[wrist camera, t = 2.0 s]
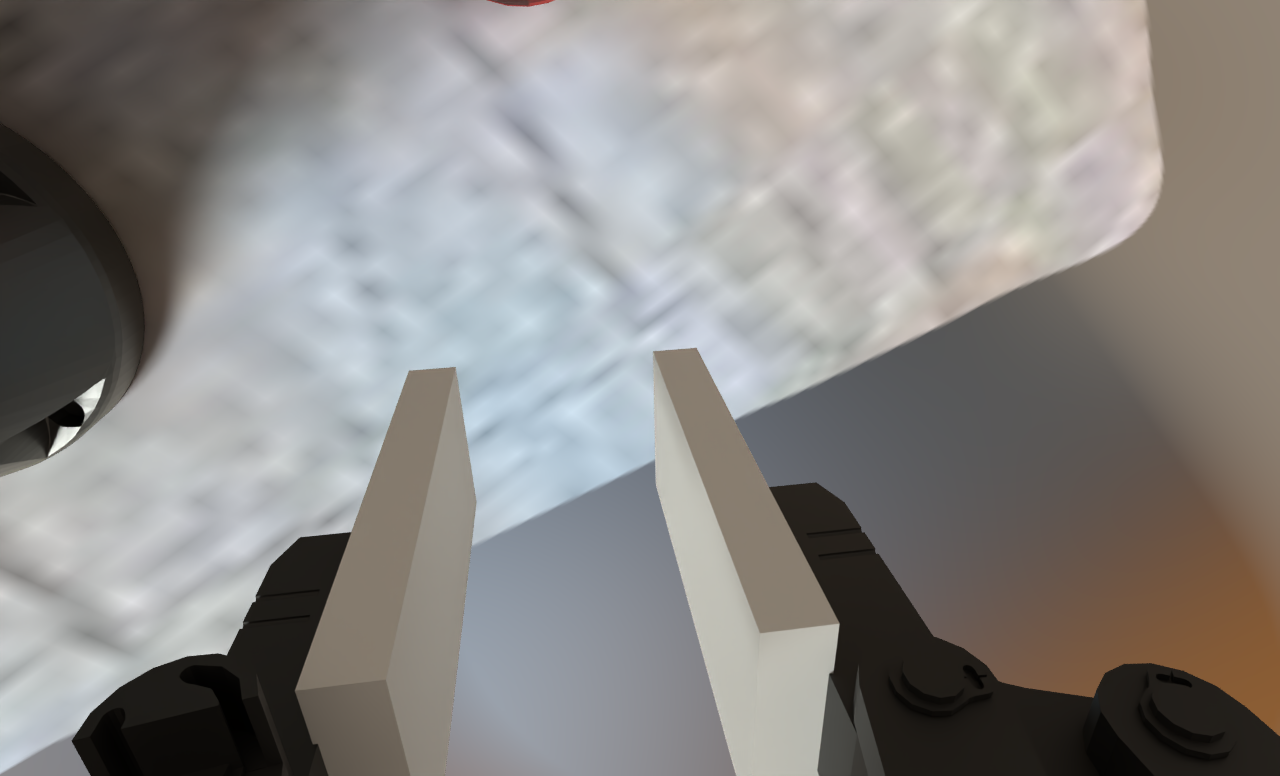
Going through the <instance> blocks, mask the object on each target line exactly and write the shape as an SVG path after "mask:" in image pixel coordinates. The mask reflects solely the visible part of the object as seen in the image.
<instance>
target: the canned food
mask: <svg viewBox="0 0 1280 776" xmlns="http://www.w3.org/2000/svg"><path fill="white" fill-rule="evenodd" d="M488 1H492V2H495V3H499V4H503V5H507V6H527V7H529V6H534V5H539V4H544V3H549V2H552V1H554V0H488Z"/></svg>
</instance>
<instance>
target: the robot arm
mask: <svg viewBox="0 0 1280 776" xmlns="http://www.w3.org/2000/svg"><path fill="white" fill-rule="evenodd" d="M143 340H144V313H143V305H142V299H141V295H140V290H139V286H138V283H137V279H136V276H135V273H134V271H133V268H132V265H131V263H130V260H129V258H128V256H127V254H126V252H125V250H124V248H123V246H122V244H121V242H120V240H119V239H118V237H117V235H116V233H115V232H114V230H113V229H112V227H111V225H110V224H109V222H108V221H107V219H106V218H105V217H104V215H103V214H102V213H101V211H100V210H99V208H98V207H97V206H96V205H95V203H94V202H93V201H92V200H91V199H90V197H89V196H88V195H87V194H86V193H85V191H84V190H83V189H82V188H81V187H80V186H79V185H78V184H77V183H76V182H75V181H74V180H73V179H72V178H71V177H70V176H69V175H68V174H67V173H66V172H65V171H64V170H63V169H62V168H61V167H59V166H58V165H57V164H56V163H55V162H54V161H52V160H51V159H50V158H49V157H48V156H47V155H45V154H44V153H43V152H42V151H40V150H39V149H38V148H36V147H35V146H34V145H32V144H31V143H30V142H28V141H27V140H25V139H24V138H22V137H21V136H19V135H18V134H16V133H15V132H13V131H12V130H10V129H8V128H7V127H5V126H3V125H2V124H0V477H2V476H5V475H8V474H11V473H14V472H17V471H19V470H22V469H25V468H28V467H31V466H33V465H35V464H38V463H40V462H42V461H44V460H46V459H48V458H50V457H52V456H54V455H55V454H57V453H59V452H60V451H62V450H64V449H65V448H67V447H68V446H70V445H71V444H73V443H74V442H75V441H77V440H78V439H79V438H80V437H81V436H83V435H84V434H85V433H86V432H87V431H88V430H89V429H90V428H91V427H93V426H94V425H95V424H96V423H97V422H98V421H99V420H100V419H101V418H103V417H104V416H105V415H106V414H107V413H108V412H109V411H110V410H111V409H112V408H113V407H114V406H115V405H116V404H117V403H118V401H119V400H120V399H121V397H122V396H123V395H124V393H125V392H126V390H127V388H128V387H129V385H130V383H131V381H132V379H133V377H134V375H135V373H136V370H137V367H138V364H139V361H140V357H141V353H142V347H143ZM653 372H654V419H655V465H656V487H657V490H658V494H659V497H660V501H661V505H662V508H663V512H664V516H665V519H666V523H667V526H668V530H669V534H670V537H671V541H672V545H673V548H674V552H675V556H676V559H677V563H678V566H679V570H680V574H681V577H682V581H683V584H684V588H685V592H686V596H687V599H688V603H689V606H690V610H691V614H692V617H693V621H694V625H695V628H696V632H697V636H698V639H699V643H700V647H701V650H702V654H703V657H704V661H705V665H706V668H707V672H708V676H709V679H710V683H711V686H712V690H713V694H714V697H715V701H716V705H717V708H718V712H719V716H720V719H721V723H722V726H723V730H724V734H725V738H726V741H727V745H728V748H729V752H730V756H731V759H732V763H733V767H734V770H735V774H736V776H1280V736H1278V735H1277V734H1276V733H1275V732H1274V731H1273V730H1272V729H1270V728H1269V727H1268V726H1267V725H1266V724H1265V723H1264V722H1263V721H1261V720H1260V719H1259V718H1258V717H1257V716H1256V715H1255V714H1253V713H1252V712H1251V711H1250V710H1248V708H1247V707H1245V706H1244V705H1242V704H1241V703H1240V702H1238V701H1237V700H1235V699H1234V698H1232V697H1231V696H1230V695H1228V694H1227V693H1225V692H1224V691H1223V690H1221V689H1220V688H1218V687H1217V686H1215V685H1213V684H1211V683H1208V682H1206V681H1204V680H1202V679H1200V678H1197V677H1195V676H1193V675H1191V674H1188V673H1187V672H1184V671H1181V670H1177V669H1173V668H1169V667H1164V666H1160V665H1156V664H1152V663H1149V664H1148V663H1147V664H1123V665H1121V666H1119V667H1117V668H1115V669H1113V670H1110V671H1108V672H1107V673H1105V674H1104V676H1103V678H1102V680H1101V682H1100V684H1099V686H1098V688H1097V690H1096V693H1095V696H1094V698H1092V697H1085V696H1078V695H1070V694H1064V693H1057V692H1050V691H1043V690H1036V689H1029V688H1023V687H1019V686H1015V685H1010V684H1006V683H1002V682H999V681H998V680H997V679H996V677H995V676H994V675H993V674H992V672H991V671H990V669H989V668H988V667H987V666H986V665H985V664H984V663H983V662H981V661H980V660H978V659H977V658H976V657H974V656H973V655H972V654H970V653H969V652H968V651H966V650H965V649H964V648H961V647H959V646H956V645H954V644H951V643H949V642H947V641H944V640H942V639H939V638H937V637H934V636H933V635H932V634H931V632H930V631H929V629H928V628H927V626H926V625H925V623H924V622H923V620H922V619H921V617H920V616H919V614H918V613H917V611H916V609H915V608H914V607H913V605H912V603H911V602H910V600H909V599H908V597H907V596H906V594H905V593H904V591H903V590H902V588H901V587H900V585H899V584H898V582H897V581H896V579H895V578H894V576H893V575H892V573H891V572H890V570H889V569H888V567H887V566H886V565H885V563H884V561H883V560H882V558H881V557H880V555H879V554H876V553H875V548H874V546H873V545H872V543H871V542H870V540H869V539H868V537H867V536H866V534H865V533H862V531H861V527H860V525H859V524H858V522H857V521H856V519H855V518H854V516H853V514H852V513H851V511H850V510H849V509H848V507H847V506H846V504H845V502H843V501H842V500H840V499H839V498H838V497H836V496H835V495H833V494H832V493H830V492H829V491H827V490H826V489H825V488H823V487H822V486H820V485H819V484H817V483H806V484H797V485H786V486H777V487H768V485H767V483H766V481H765V479H764V477H763V475H762V473H761V472H760V469H759V468H758V466H757V464H756V462H755V460H754V458H753V456H752V454H751V452H750V450H749V448H748V446H747V445H746V443H745V441H744V439H743V437H742V435H741V433H740V431H739V429H738V427H737V425H736V423H735V421H734V419H733V418H732V416H731V414H730V412H729V410H728V408H727V406H726V404H725V402H724V400H723V398H722V396H721V394H720V392H719V391H718V389H717V387H716V385H715V383H714V381H713V379H712V377H711V375H710V373H709V371H708V369H707V367H706V366H705V364H704V362H703V360H702V358H701V356H700V354H699V352H698V350H697V348H690V349H678V350H665V351H653ZM475 510H476V496H475V490H474V483H473V477H472V470H471V464H470V457H469V451H468V444H467V438H466V432H465V425H464V419H463V412H462V406H461V399H460V393H459V386H458V380H457V373H456V367H451V368H439V369H426V370H413V371H409V372H408V375H407V378H406V381H405V383H404V386H403V389H402V392H401V395H400V398H399V400H398V403H397V406H396V409H395V412H394V414H393V417H392V420H391V423H390V426H389V428H388V431H387V434H386V437H385V440H384V442H383V445H382V448H381V451H380V454H379V456H378V459H377V462H376V465H375V468H374V470H373V473H372V476H371V479H370V482H369V484H368V487H367V490H366V493H365V496H364V498H363V501H362V504H361V507H360V510H359V513H358V515H357V518H356V521H355V524H354V527H353V529H352V532H349V533H339V534H329V535H319V536H309V537H300V538H299V539H298V540H297V541H296V542H295V543H294V544H293V545H291V546H290V547H289V548H288V549H287V550H286V551H285V552H284V553H283V554H282V555H281V556H280V557H279V558H278V559H277V560H276V561H275V562H274V563H272V564H271V566H270V568H269V570H268V572H267V574H266V576H265V578H264V580H263V582H262V584H261V586H260V588H259V590H258V592H257V594H256V602H253V603H252V605H251V607H250V609H249V611H248V613H247V615H246V617H245V619H244V621H243V629H239V631H238V634H237V636H236V638H235V640H234V642H233V644H232V646H231V648H230V650H229V652H228V654H227V656H226V655H222V654H208V655H198V656H187V657H184V658H181V659H179V660H176V661H173V662H170V663H167V664H164V665H161V666H158V667H155V668H153V669H151V670H149V671H147V672H146V673H144V674H142V675H140V676H139V677H137V678H135V679H133V680H132V681H130V682H128V683H127V684H125V685H123V686H121V687H120V688H118V689H117V690H116V691H115V692H114V693H113V694H112V695H110V696H109V697H108V698H107V699H106V700H105V701H104V702H102V703H101V704H100V705H99V706H98V707H97V708H96V709H94V710H93V711H92V712H91V713H90V715H89V716H88V717H87V719H86V720H85V722H84V723H83V725H82V726H81V728H80V729H79V731H78V732H77V734H76V735H75V737H74V738H73V740H72V743H73V744H74V746H75V748H76V750H77V752H78V754H79V755H80V757H81V759H82V761H83V762H84V764H85V766H86V768H87V770H88V772H89V773H90V775H91V776H445V771H446V762H447V753H448V745H449V736H450V727H451V718H452V710H453V701H454V692H455V684H456V675H457V666H458V658H459V649H460V640H461V632H462V623H463V614H464V605H465V597H466V587H467V580H468V571H469V562H470V554H471V545H472V536H473V527H474V519H475Z"/></svg>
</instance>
